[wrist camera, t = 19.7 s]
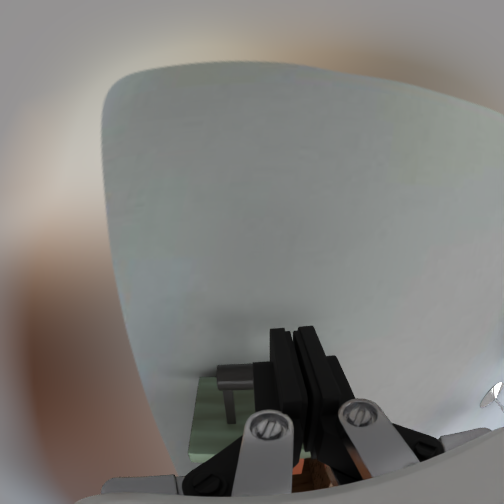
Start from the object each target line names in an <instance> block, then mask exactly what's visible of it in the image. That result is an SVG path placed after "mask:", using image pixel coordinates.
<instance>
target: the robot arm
mask: <svg viewBox="0 0 504 504" xmlns="http://www.w3.org/2000/svg"><path fill="white" fill-rule="evenodd" d="M253 386H254V403H255V413H254V414H253V415H251V416H250V417H249V418H248V419H247V421H246V423H245V427H244V432H243V435H242V436H241V437H239V438H238V439H237V440H235V441H234V442H233V443H231V444H230V445H228V446H227V447H226V448H224V449H223V450H222V451H220V452H219V453H217V454H216V455H214V456H213V457H212V458H210V459H209V460H207V461H206V462H204V463H203V464H201V465H200V466H198V467H197V468H195V469H194V470H192V471H191V472H189V473H188V474H187V475H186V476H179V477H175V475H161V476H146V477H145V476H144V477H116V478H112V479H110V480H108V481H106V482H105V484H104V485H103V486H102V490H101V494H99V495H94V496H90V497H86V498H84V499H81V500H79V501H77V502H76V503H75V504H504V427H501V428H498V429H496V430H493V431H492V430H490V429H488V428H477V429H473V430H469V431H464V432H460V433H455V434H450V435H444V436H440V438H439V439H436V438H434V437H432V436H429V435H426V434H423V433H420V432H417V431H414V430H411V429H408V428H405V427H402V426H399V425H396V424H394V423H391V422H390V420H389V419H388V418H387V416H386V415H385V414H384V412H383V411H382V410H381V408H380V407H379V406H378V405H377V404H376V403H374V402H372V401H370V400H367V399H358V398H357V399H355V397H354V394H353V392H352V390H351V388H350V386H349V383H348V381H347V379H346V377H345V374H344V372H343V370H342V368H341V366H340V363H339V361H338V359H337V357H336V356H326V355H325V353H324V351H323V348H322V346H321V343H320V341H319V339H318V336H317V334H316V331H315V329H314V327H313V326H303V327H299V328H298V331H294V332H293V340H292V337H291V333H290V331H285V329H284V328H275V329H270V362H253ZM302 444H303V446H304V451H305V452H310V455H311V459H317V460H318V461H320V462H322V463H324V464H325V465H324V466H325V470H326V472H327V474H328V477H329V479H330V481H331V483H332V485H333V487H330V488H325V489H319V490H313V491H306V492H298V493H292V471H293V468H294V467H295V466H296V465H297V464H298V463H299V459H300V453H301V450H302Z"/></svg>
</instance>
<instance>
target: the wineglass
mask: <svg viewBox="0 0 504 504" xmlns="http://www.w3.org/2000/svg"><path fill="white" fill-rule="evenodd" d="M502 388H503V383H499V384H497V385H495V386H494V387H493V388H492V389H491V390H490V391H489V392H488V393H487V394H486V396H485V397H484V399H483V400H482V402H481V405H480V407H481V408H484V407H486V406H488V405H490V404H491V403H492V402H493V401H494V400H495V402H496V403H497V404H498V406H499V407H500V408H501V410H502V411H503V412H504V406H503V405H502V404H501V403H500V402H499V401H498V400H497V399H496V398H497V397H498V395H499V394H500V392H501V391H502Z"/></svg>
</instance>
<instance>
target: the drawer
mask: <svg viewBox="0 0 504 504" xmlns="http://www.w3.org/2000/svg"><path fill="white" fill-rule="evenodd" d="M254 413H255V403H254V386H253V364H230V365H217V371H216V377H200V378H199V384H198V390H197V396H196V403H195V409H194V416H193V422H192V429H191V436H190V442H189V449H188V455H189V457H190V460H191V462H196V463H204V462H206V461H207V460H209V459H210V458H212V457H213V456H214V455H216V454H217V453H219V452H220V451H222V450H223V449H224V448H226V447H227V446H228V445H230V444H231V443H233V442H234V441H235V440H237V439H238V438H239V437H241V436H242V435H243V432H244V427H245V423H246V421H247V419H248V418H249V417H250V416H251V415H253V414H254ZM303 458H305V459H304V464H303V469H302V473H301V474H294V475H292V493H298V492H306V491H313V490H319V489H325V488H330V487H333V485H332V483H331V481H330V479H329V477H328V474H327V472H326V470H325V466H324V465H325V464H324V463H322V462H320V461H318V460H317V459H311V455H310V452H305V451H304V446H303V444H302V450H301V453H300V459H303Z"/></svg>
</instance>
